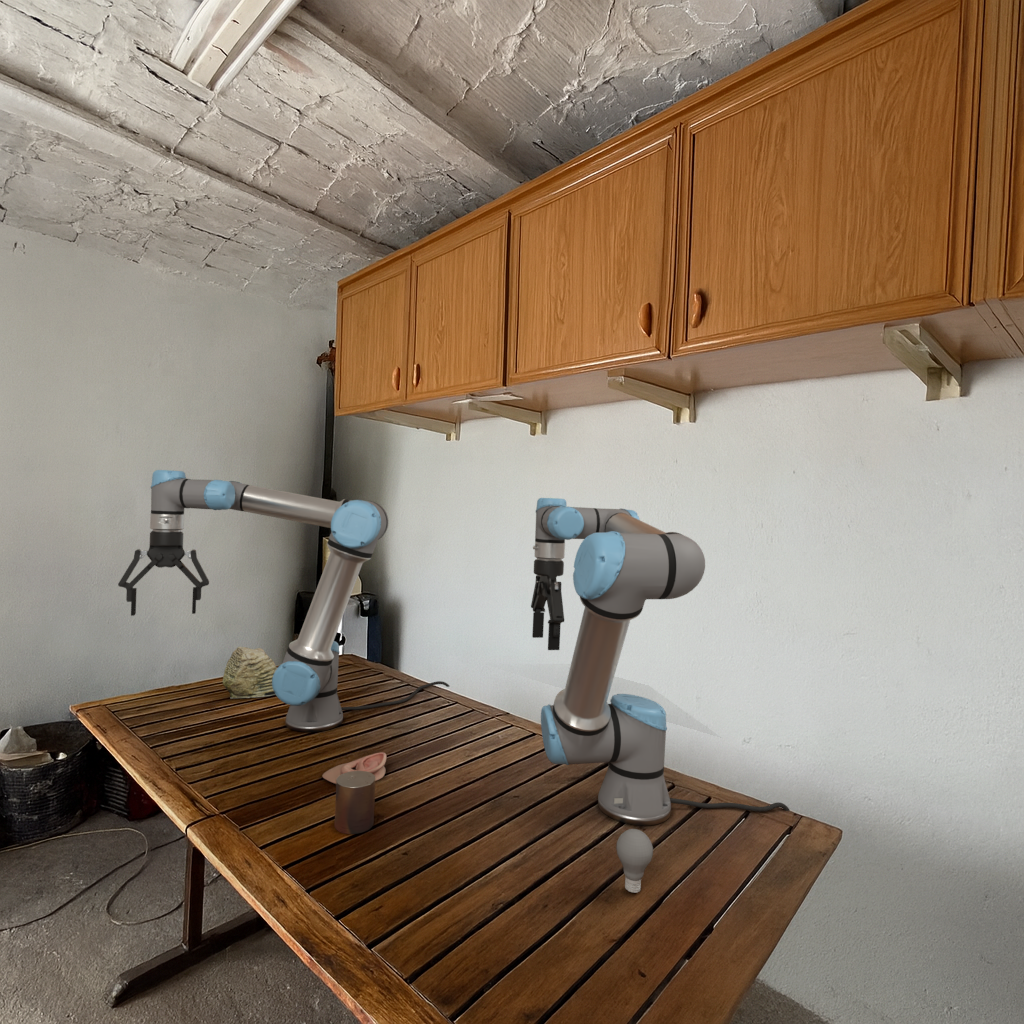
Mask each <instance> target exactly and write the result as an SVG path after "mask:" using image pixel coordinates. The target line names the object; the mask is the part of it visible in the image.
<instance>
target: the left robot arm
mask: <svg viewBox="0 0 1024 1024" xmlns="http://www.w3.org/2000/svg"><path fill="white" fill-rule="evenodd" d="M150 489H151V492H150V493H151V494H150V495H151V496H150V497H151V498H150V521H149V522H150V523H149V529H151V530H152V531H150V532H149V547H148V550H145V549H144V550H143V549H140V548H136V549H135V550H134V554H133V559H132V561H131V562H130V563H129V565H128V567H127V568H126V570H125V572H124V573H123V575H122V577H121V578H120V580H119V582H118V587H120V588H124V589H126V593H125V594H126V596H125V598H126V599H125V600H126V602H127V603H130V616H131V617H132V616H133V617H134V616H136V614H137V591H138V590H137V587H135V585H136V584H137V583H138V582H139V581H141V580H142V579H143V578H144V576H146V575H147V573H149V571H151V570H152V569H153V568H154V567H157V568H158V569H159V568H174V567H177V568H178V569H179V570H180V572H182V574H183V575H185V576H186V578H187V579H188V580H189V581H190V582H191V583H192V584H193V585H194V586H193V587H192V600H191V601H192V603H191V605H192V606H191V614H193V615H196V613H197V612H196V611H197V601H201V599H202V588H204V587H206V586H209V585H210V580H209V579H208V576H207V574H206V572H205V571H204V569H203V567H202V565H201V562H200V561H199V558H198V556H197V550H196V549H194V548H193V549H191V550H185V549H184V533H183V530H184V528H185V527H184V526H185V509H197V510H213V511H223V510H225V511H226V510H233V511H238V512H243V513H245V512H246V513H250V514H255V515H256V514H257V515H260V516H266V517H271V518H276V519H282V520H286V521H293V522H298V523H302V524H307V525H312V526H318V527H322V528H323V527H324V528H327V529H330V534H329V537H328V540H327V542H326V546H327V548H328V549H329V554H328V558H327V560H326V563H325V565H324V568H323V570H322V574H321V575H320V579H319V581H318V584H317V587H316V589H315V592H314V594H313V597H312V600H311V603H310V606H309V608H308V610H307V613H306V616H305V619H304V622H303V624H302V627H301V629H300V632H299V635H298V637H297V639H295V640H293V641H291V642H289V644H288V646H287V649H286V652H285V654H284V657H283V659H282V662H281V664H280V665H278V667H276V668H277V670H276V671H275V673H274V675H273V678H272V687H273V691H274V692H275V694H276V695H275V696H276V697H277V699H278V700H279V701H281V702H282V703H284V704H286V705H289V708H288V709H287V713H286V715H285V726H286V728H287V729H289V730H291V731H294V732H295V731H296V732H301V733H316V732H325V731H329V730H332V729H335V728H337V727H339V726H340V725H342V723H343V722H344V714H343V711H360V710H368V709H373V708H374V709H375V708H380V707H385V706H392V705H398V704H404V703H405V702H408V701H410V700H411V699H412V698H413V697H414V696H416V695H417V694H418V692H419V691H421V690H423V689H427V688H429V687H432V686H436V685H443V686H445V687H446V688H449V687H451V686H450V685H449V684H448V683H447V682H445V681H442V680H440V681H433V682H429V683H426V684H423V685H420V686H419V687H417V688H416V689H415V690H414V691H413V692H412V693H411V694H410V695H409V696H407V697H405V698H402V699H398V700H393V701H386V702H380V703H374V704H369V705H360V706H341V702H340V699H339V695H338V682H339V662H340V661H339V660H340V659H339V657H340V645H339V643H338V642H337V641H335V639H336V636H337V633H338V630H339V627H340V626H341V622H342V619H343V616H344V614H345V611H346V609H347V607H348V603H349V601H350V599H351V596H352V593H353V590H354V587H355V584H356V582H357V580H358V577H359V574H360V571H361V569H362V566H363V564H364V563H366V562H367V561H369V560H371V559H372V556H373V554H374V551H375V549H376V546H377V543H378V541H379V540H381V538H383V537H384V535H385V534H386V533H387V531H388V527H389V517H388V513H387V510H385V509H384V508H383V506H382V505H381V504H379V503H378V502H376V501H372V500H365V499H364V500H362V499H353V500H352V499H347V498H344V499H341V500H340V501H337V500H332V499H326V498H321V497H317V496H310V495H306V494H301V493H295V492H291V491H290V492H289V491H284V490H278V489H274V488H268V487H263V486H259V485H253V484H247V483H242V482H239V481H237V480H235V481H234V480H223V479H197V478H196V479H193V478H192V479H191V478H187V476H186V472H185V471H183V470H169V469H156V470H154V471H153V472H152V476H151V486H150ZM145 556H147V557H148V559H149V560H150V562H149V563H147V565H146V566H144V568H143V569H142V570H140V572H139V573H137V575H136V576H135V577H134V578H133V579H132V580H131V581H130V582H127V581H128V580H129V578H130V577H131V575H132V573H133V571H134V570H135V569H136V567H137V565H138V563H139V562H140V560H142V559H143V558H144V557H145ZM185 556H186V557H187V558H188V559H189V560H190V559H191V562H192V564H193V566H194V568H195V570H196V572H197V573H198V575H199V577H200V579H201V581H200V580H199V579H198V577H196V576H195V575H194V573H192V571H190V570H189V568H188V567H187V566H186V565H185V564H184V563H183V561H182V559H183V558H184V557H185Z"/></svg>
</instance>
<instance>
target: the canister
mask: <svg viewBox="0 0 1024 1024" xmlns="http://www.w3.org/2000/svg"><path fill="white" fill-rule="evenodd" d="M375 800H376V781H375V775H374V774H372V773H370V772H366V771H350V772H346V773H344V774H341V775H340V776H339V777H338V778H337V780H336V784H335V803H334V805H335V806H334V807H335V808H334V809H335V810H334V829H335V830H336V831H337V832H339V833H341V834H344V835H345V834H346V835H357V834H361V833H365V832H367V831H369V830H370V829H371V828H372V827H373V826H374V824H375V804H376V803H375Z"/></svg>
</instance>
